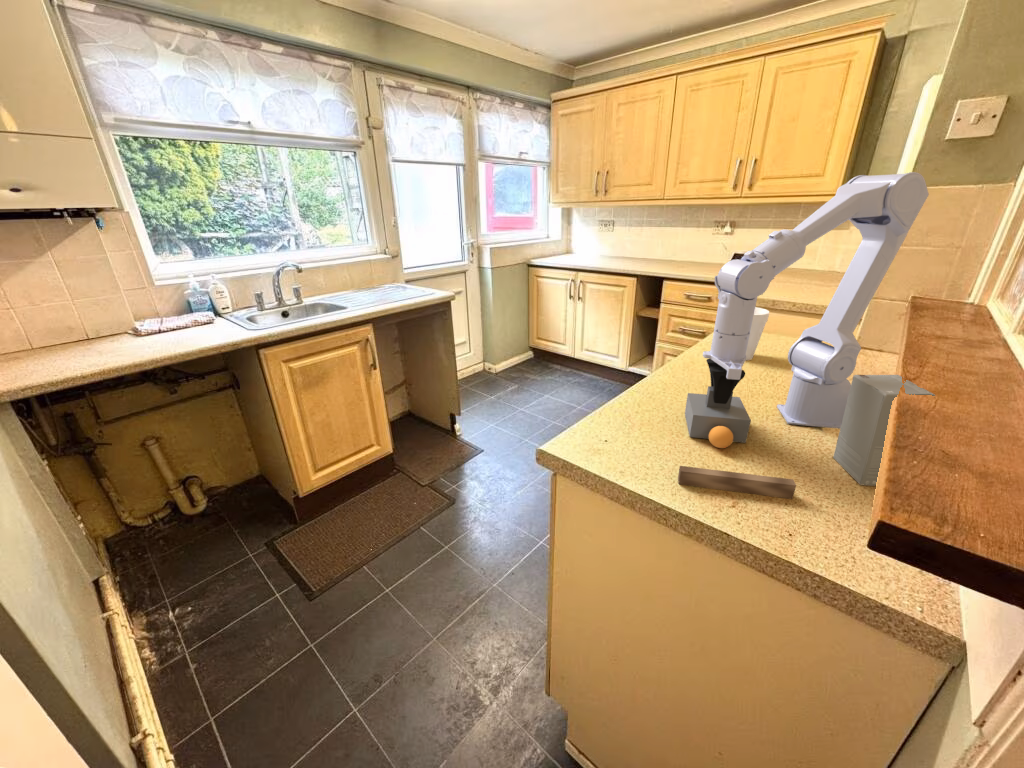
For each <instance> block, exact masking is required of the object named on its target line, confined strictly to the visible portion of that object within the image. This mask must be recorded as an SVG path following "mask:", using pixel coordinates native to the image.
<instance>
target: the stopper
mask: <svg viewBox="0 0 1024 768" xmlns="http://www.w3.org/2000/svg"><path fill="white" fill-rule="evenodd" d="M677 482H678V485H682V486H684V485H685V486H691V487H699V488H705V489H706V488H707V489H714V490H722V491H729V492H735V493H744V494H750V495H751V494H753V495H758V496H767V497H774V498H780V499H781V498H783V499H789V500H793V499H794V495H795V491H796V489H797V484H796V482H795V480H794V479H793V478H785V477H777V476H776V477H775V476H767V475H762V474H761V475H759V474H751V473H743V472H736V471H726V470H719V469H711V468H710V469H709V468H702V467H695V466H694V467H692V466H686V465H679V469H678V476H677Z"/></svg>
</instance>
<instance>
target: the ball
mask: <svg viewBox="0 0 1024 768" xmlns="http://www.w3.org/2000/svg"><path fill="white" fill-rule="evenodd" d="M708 440H709V443H710V444H711V445H712V446H714V447H715V448H719V449H726V448H728V447H730V446H731V445H732V443H734V441H733V433H732V432H731V430H730V429H728V428H727V427H724V426H716V427H714V428H712V429H711V431H710V432H709V439H708Z"/></svg>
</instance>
